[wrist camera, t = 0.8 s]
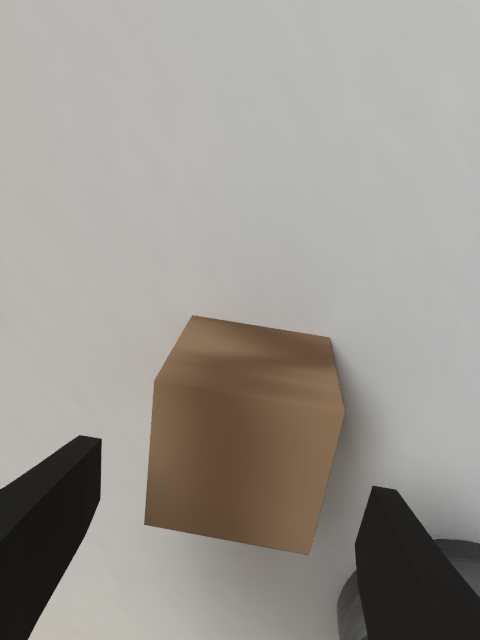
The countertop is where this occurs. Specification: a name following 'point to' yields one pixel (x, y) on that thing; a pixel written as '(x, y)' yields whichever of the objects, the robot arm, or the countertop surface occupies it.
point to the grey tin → (467, 558)
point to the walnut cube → (243, 434)
